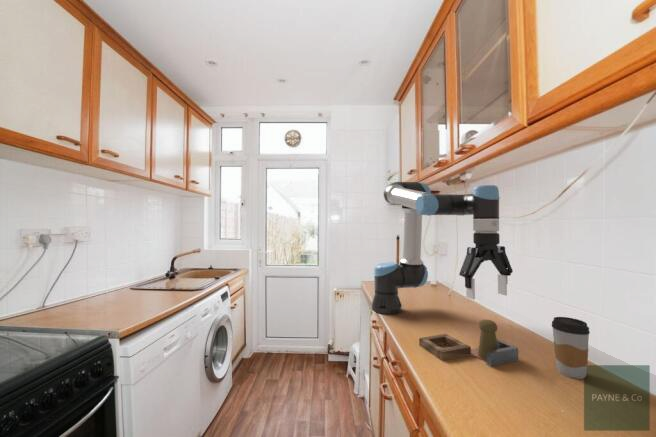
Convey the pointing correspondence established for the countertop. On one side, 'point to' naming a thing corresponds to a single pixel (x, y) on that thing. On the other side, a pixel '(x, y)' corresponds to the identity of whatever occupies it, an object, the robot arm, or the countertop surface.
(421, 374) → the countertop surface
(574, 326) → the coffee cup
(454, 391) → the countertop surface
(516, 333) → the countertop surface
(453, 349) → the socket block
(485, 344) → the olive stamp handle
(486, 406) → the countertop surface
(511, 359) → the corner cradle
